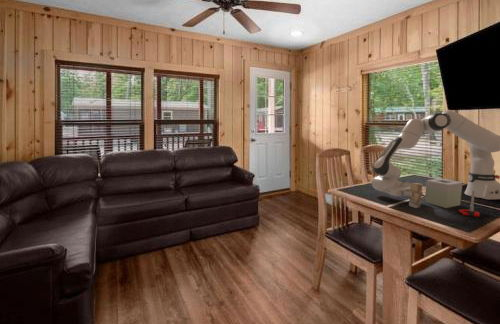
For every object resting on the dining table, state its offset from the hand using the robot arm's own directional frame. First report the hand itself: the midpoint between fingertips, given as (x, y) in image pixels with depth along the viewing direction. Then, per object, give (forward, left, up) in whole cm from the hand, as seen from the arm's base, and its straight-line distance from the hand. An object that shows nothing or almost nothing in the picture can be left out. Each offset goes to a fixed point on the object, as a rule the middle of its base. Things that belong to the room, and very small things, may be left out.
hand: (417, 193), depth 153 cm
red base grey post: (-22, +8, -8) cm, 25 cm away
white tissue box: (-17, -8, -8) cm, 20 cm away
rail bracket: (0, -1, -8) cm, 8 cm away
